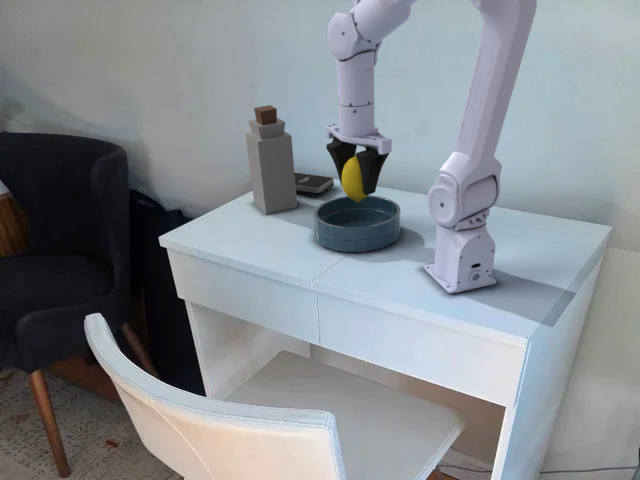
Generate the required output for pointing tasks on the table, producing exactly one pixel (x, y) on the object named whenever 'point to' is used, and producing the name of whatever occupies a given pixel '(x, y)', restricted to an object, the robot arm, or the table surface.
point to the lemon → (353, 180)
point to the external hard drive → (312, 184)
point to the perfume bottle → (271, 162)
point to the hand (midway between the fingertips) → (358, 189)
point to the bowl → (357, 223)
